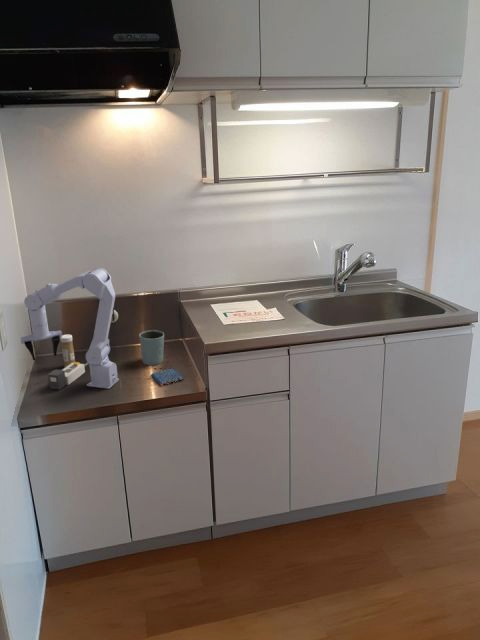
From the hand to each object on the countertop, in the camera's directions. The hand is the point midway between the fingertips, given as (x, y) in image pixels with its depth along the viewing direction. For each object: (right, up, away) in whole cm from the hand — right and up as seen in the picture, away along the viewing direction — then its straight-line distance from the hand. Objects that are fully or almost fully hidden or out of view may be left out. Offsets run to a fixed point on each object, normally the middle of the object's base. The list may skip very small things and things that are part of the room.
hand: (44, 357), depth 196 cm
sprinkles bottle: (+5, -5, +15) cm, 17 cm away
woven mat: (+46, -9, +5) cm, 47 cm away
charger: (+6, -11, -2) cm, 13 cm away
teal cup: (+38, -3, +20) cm, 43 cm away
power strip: (+9, -7, +9) cm, 15 cm away
